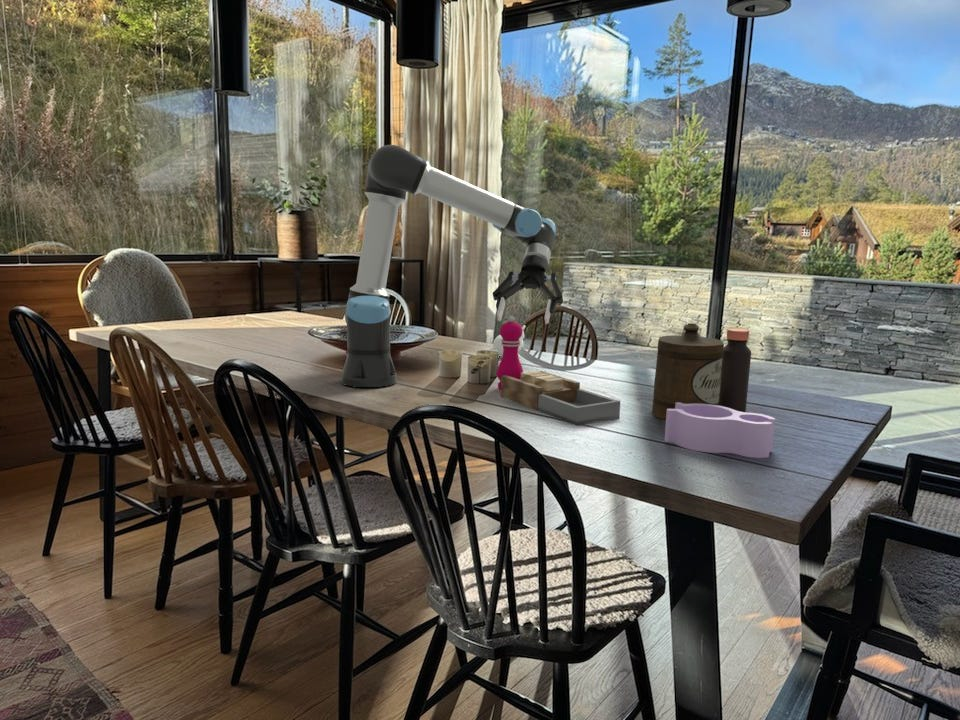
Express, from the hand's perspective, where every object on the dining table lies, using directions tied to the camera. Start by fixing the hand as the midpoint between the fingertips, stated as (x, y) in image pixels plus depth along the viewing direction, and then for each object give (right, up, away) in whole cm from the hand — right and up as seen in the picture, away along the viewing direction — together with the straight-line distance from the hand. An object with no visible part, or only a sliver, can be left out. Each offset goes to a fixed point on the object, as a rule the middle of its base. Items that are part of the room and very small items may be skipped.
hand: (522, 319), depth 188 cm
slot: (+3, -21, -16) cm, 27 cm away
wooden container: (+37, -24, -27) cm, 52 cm away
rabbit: (-1, -10, +43) cm, 44 cm away
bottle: (+49, -24, -23) cm, 59 cm away
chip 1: (+2, -17, -15) cm, 23 cm away
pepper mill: (-4, -19, -5) cm, 20 cm away
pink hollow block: (+37, -29, -50) cm, 68 cm away
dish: (+11, -24, -29) cm, 39 cm away
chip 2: (+5, -18, -20) cm, 27 cm away
